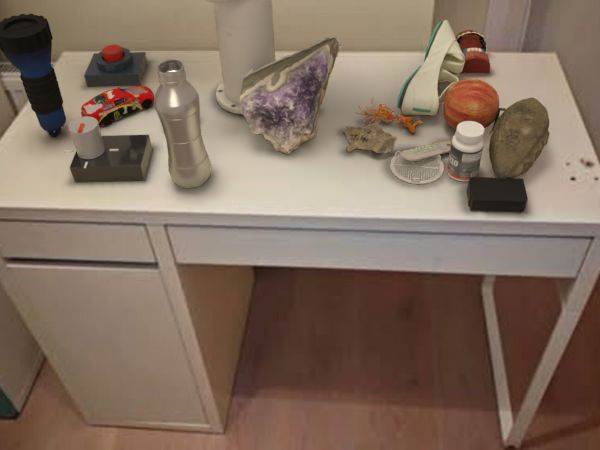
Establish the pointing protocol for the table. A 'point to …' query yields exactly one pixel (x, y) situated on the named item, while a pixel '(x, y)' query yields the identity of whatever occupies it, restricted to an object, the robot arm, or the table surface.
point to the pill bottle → (466, 151)
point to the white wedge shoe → (433, 73)
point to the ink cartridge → (496, 194)
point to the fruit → (471, 103)
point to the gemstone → (289, 95)
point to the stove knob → (87, 137)
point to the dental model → (474, 52)
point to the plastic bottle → (181, 125)
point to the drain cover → (417, 180)
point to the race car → (117, 103)
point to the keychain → (426, 151)
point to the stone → (518, 138)
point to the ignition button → (112, 53)
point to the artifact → (369, 138)
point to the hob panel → (115, 160)
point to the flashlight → (34, 66)
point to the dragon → (389, 117)
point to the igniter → (116, 70)
